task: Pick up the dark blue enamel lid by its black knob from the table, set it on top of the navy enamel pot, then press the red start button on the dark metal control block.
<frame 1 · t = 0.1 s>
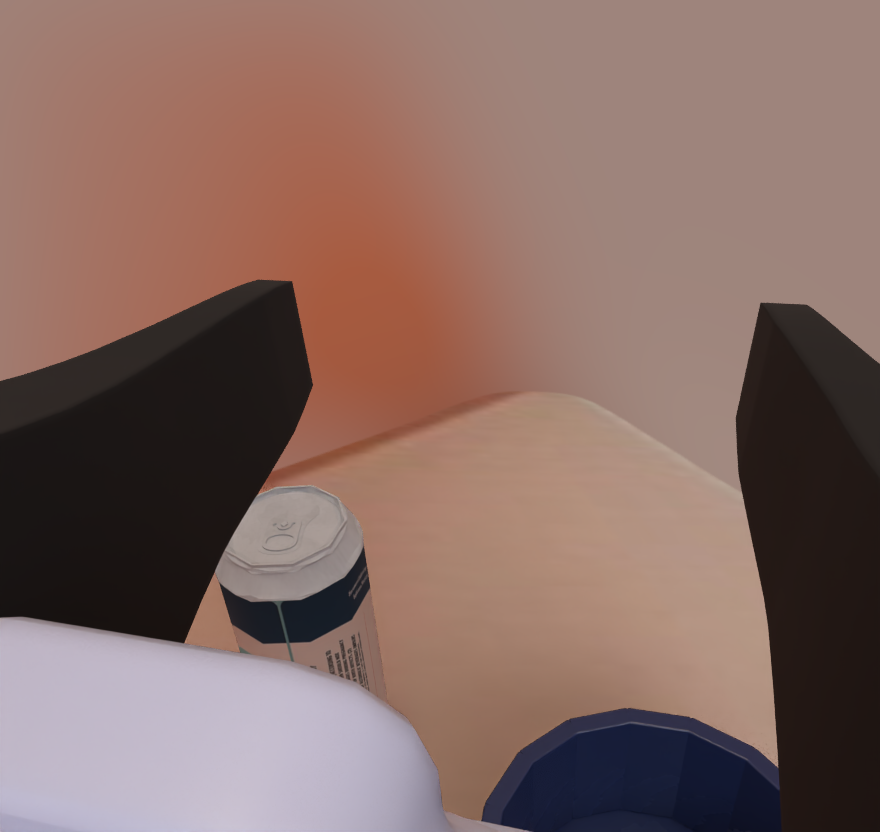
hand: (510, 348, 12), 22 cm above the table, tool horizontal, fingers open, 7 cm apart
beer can: (336, 755, 30), on the table
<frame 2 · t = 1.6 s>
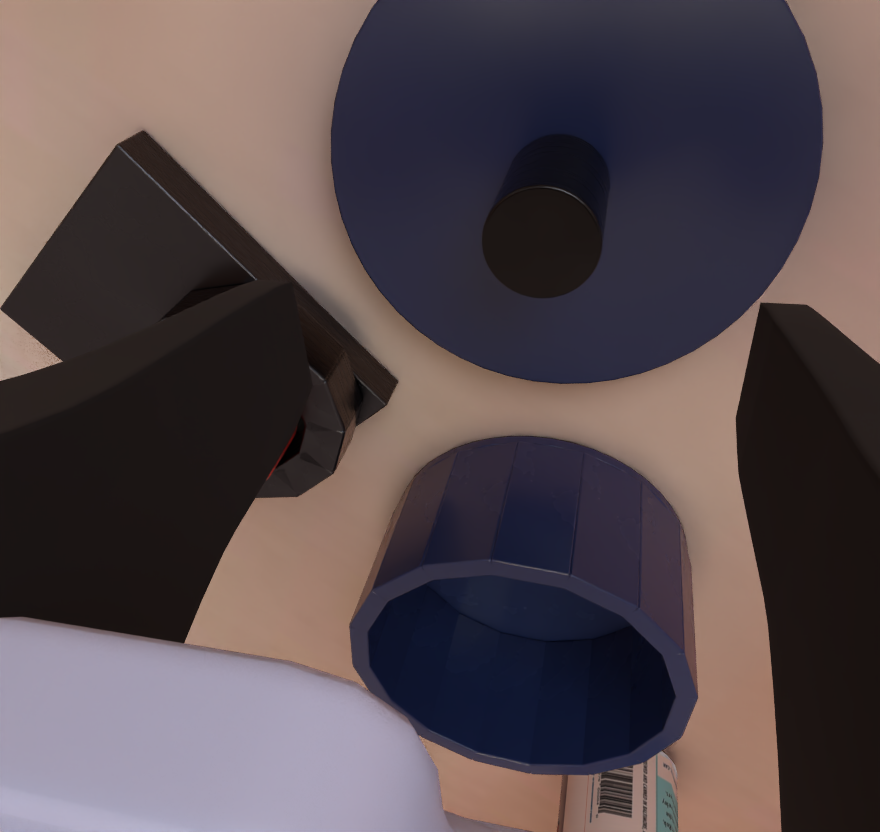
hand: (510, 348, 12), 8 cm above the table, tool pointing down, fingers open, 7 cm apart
start button: (227, 423, 21), point 3 cm above the table, slide at 0.1 cm
lid: (559, 178, 18), point 1 cm above the table
control block: (207, 334, 24), on the table
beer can: (620, 751, 33), on the table
pot: (536, 549, 26), on the table
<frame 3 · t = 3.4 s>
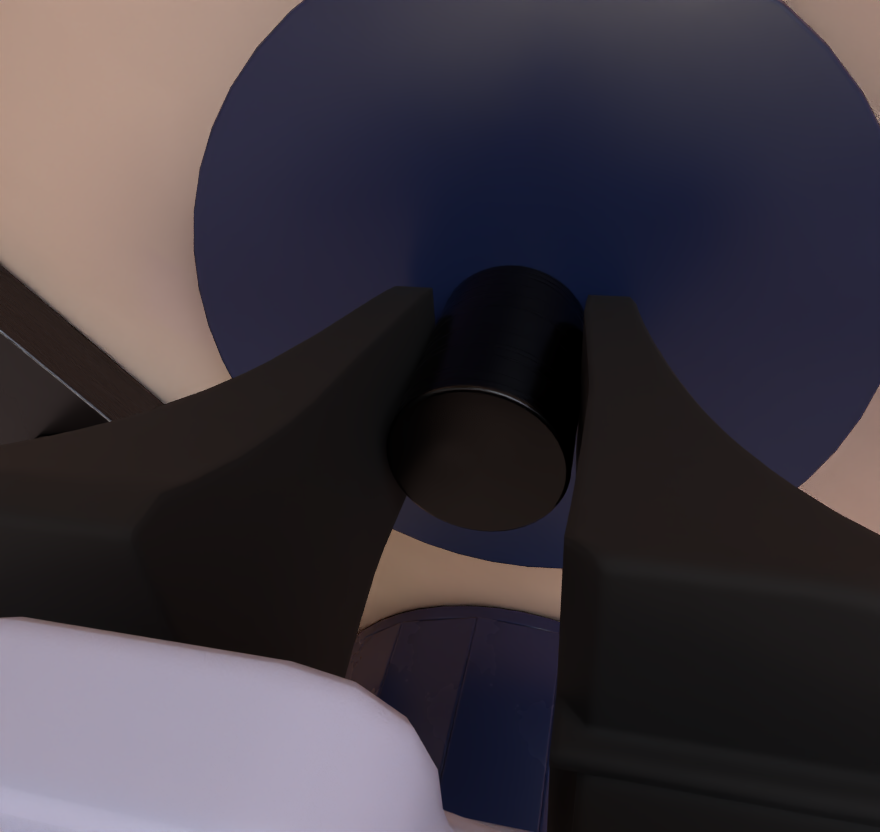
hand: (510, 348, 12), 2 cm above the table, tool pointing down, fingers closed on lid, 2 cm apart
lid: (518, 316, 12), point 1 cm above the table, touching gripper
control block: (79, 472, 19), on the table
pot: (505, 724, 21), on the table
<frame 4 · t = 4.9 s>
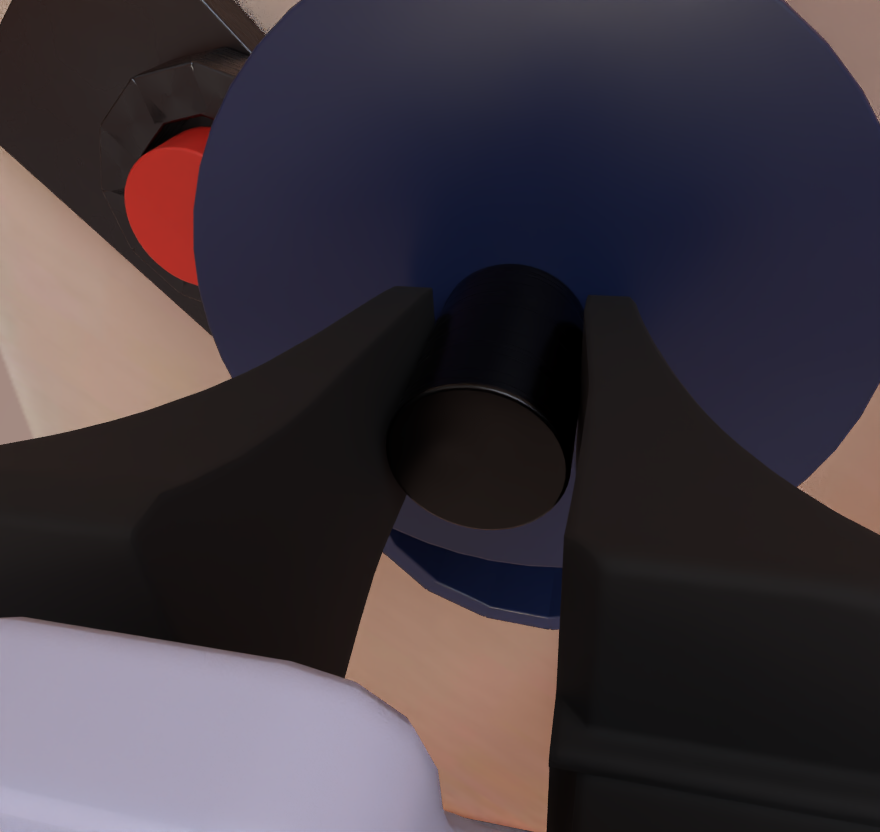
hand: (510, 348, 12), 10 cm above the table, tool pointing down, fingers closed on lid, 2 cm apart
start button: (208, 208, 19), point 3 cm above the table, slide at 0.1 cm
lid: (518, 315, 12), point 9 cm above the table, touching gripper
control block: (188, 137, 22), on the table
pot: (552, 390, 24), on the table
when the fingers open (6 cm above the table, at t = 6.9 s): lid stays where it is, resting on pot.
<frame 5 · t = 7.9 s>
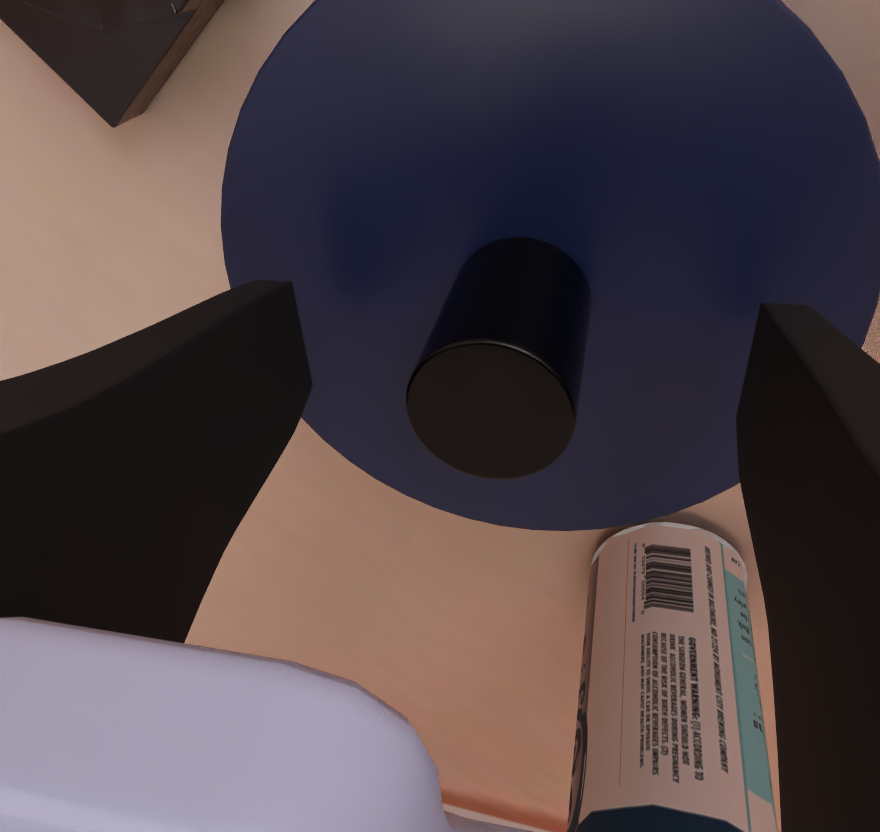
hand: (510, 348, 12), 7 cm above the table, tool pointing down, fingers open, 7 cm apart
lid: (525, 287, 13), point 5 cm above the table, touching pot
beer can: (666, 560, 24), on the table
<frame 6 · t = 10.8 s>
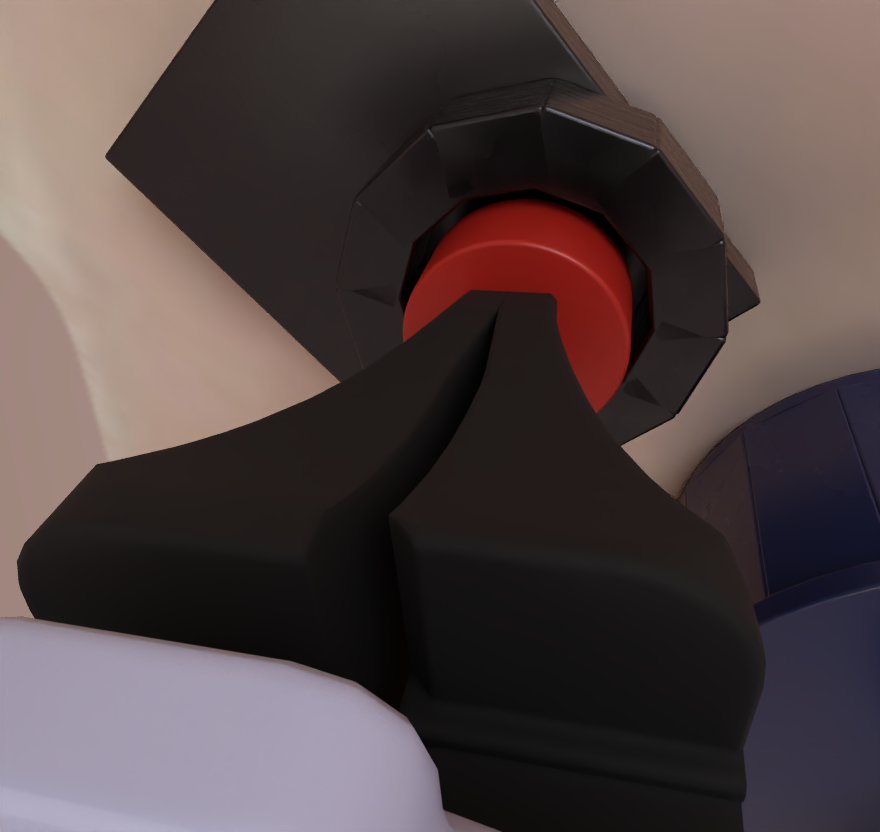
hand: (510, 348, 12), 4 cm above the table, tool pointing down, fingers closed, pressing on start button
start button: (519, 321, 12), point 3 cm above the table, slide at -0.1 cm, touching gripper
control block: (433, 201, 15), on the table
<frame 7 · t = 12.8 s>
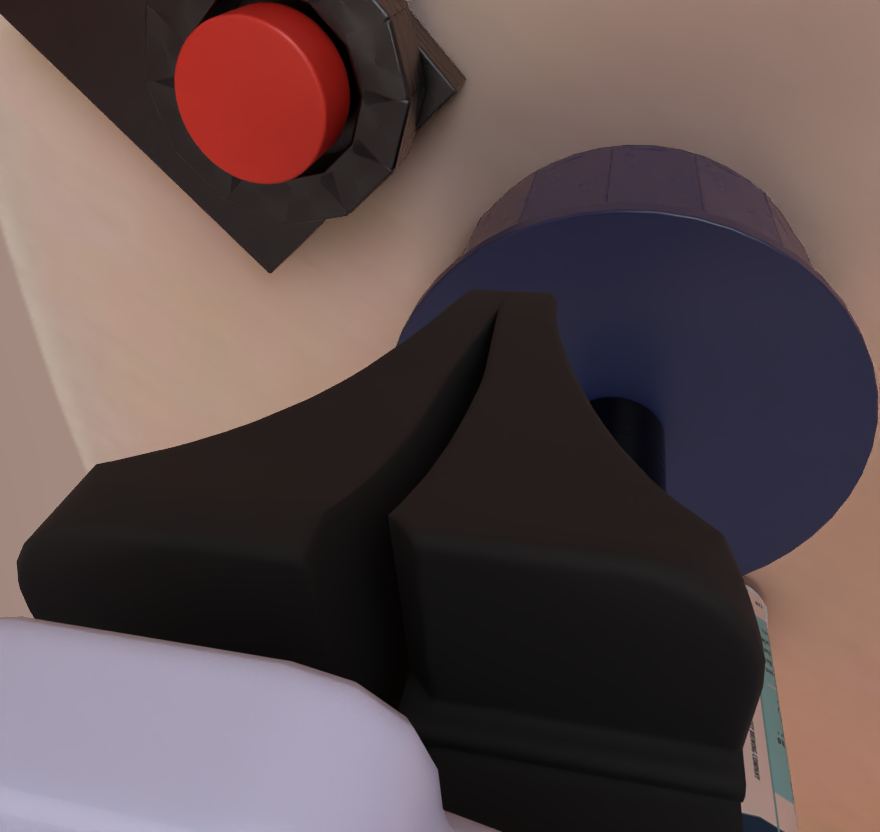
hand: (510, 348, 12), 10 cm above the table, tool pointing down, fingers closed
start button: (264, 95, 17), point 3 cm above the table, slide at 0.1 cm
lid: (613, 424, 18), point 5 cm above the table, touching pot
control block: (234, 34, 20), on the table
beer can: (699, 600, 29), on the table
pot: (620, 317, 22), on the table
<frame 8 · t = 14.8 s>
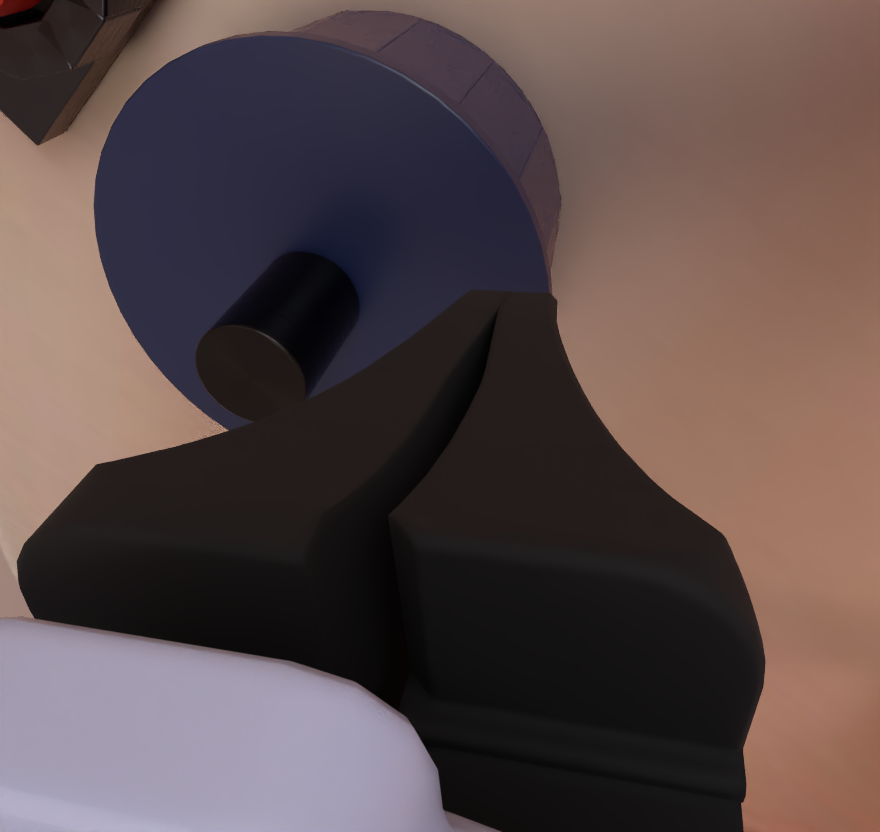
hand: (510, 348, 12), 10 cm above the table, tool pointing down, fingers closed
lid: (320, 287, 18), point 5 cm above the table, touching pot
pot: (387, 203, 22), on the table
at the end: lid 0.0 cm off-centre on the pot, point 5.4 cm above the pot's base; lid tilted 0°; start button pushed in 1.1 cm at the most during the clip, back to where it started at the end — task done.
